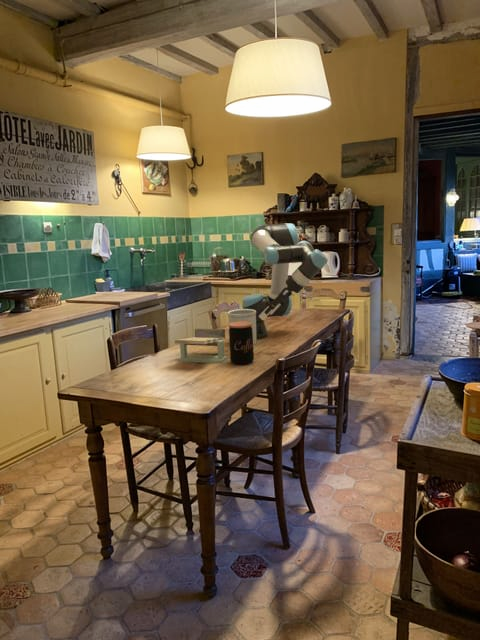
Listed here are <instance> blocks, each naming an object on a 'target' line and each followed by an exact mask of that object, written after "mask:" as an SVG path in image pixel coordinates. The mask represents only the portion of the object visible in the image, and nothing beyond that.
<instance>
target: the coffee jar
mask: <svg viewBox="0 0 480 640" xmlns="http://www.w3.org/2000/svg"><path fill="white" fill-rule="evenodd" d="M251 326H252V323H251V322H246V321H240V322H232V323H230V324H229V323H228V337H229V355H230V362H231V363H232V364H233V365H235V366H237V365H238V366H245V365H250V364H252V363H253V362H254V359H255V356H254V355H255V354H254V345H253V330H252V327H251ZM229 327H230V329H229Z"/></svg>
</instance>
